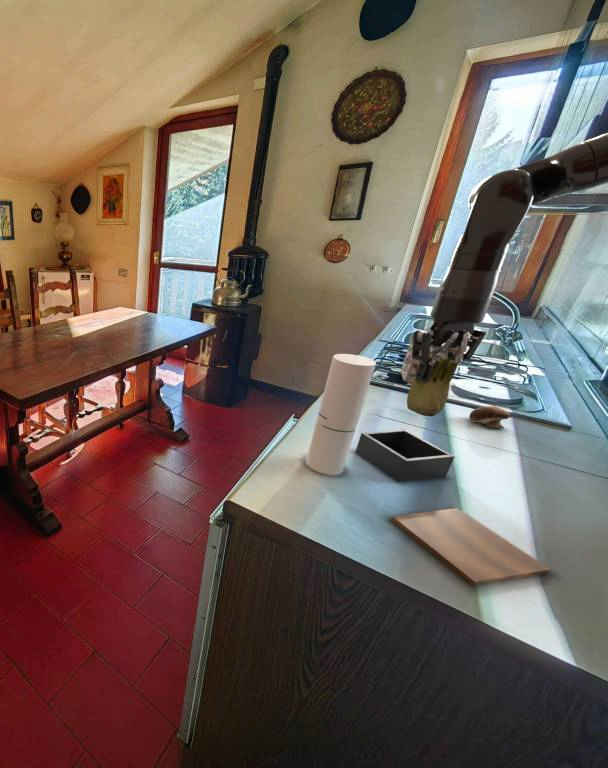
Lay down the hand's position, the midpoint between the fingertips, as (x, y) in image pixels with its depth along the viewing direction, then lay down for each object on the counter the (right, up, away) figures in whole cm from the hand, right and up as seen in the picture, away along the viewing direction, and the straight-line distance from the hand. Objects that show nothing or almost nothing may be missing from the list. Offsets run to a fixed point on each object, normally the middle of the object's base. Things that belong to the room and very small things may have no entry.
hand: (433, 380), depth 78 cm
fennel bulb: (0, -7, +3) cm, 8 cm away
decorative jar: (+46, 0, +57) cm, 74 cm away
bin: (0, -19, +9) cm, 21 cm away
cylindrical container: (-17, -19, +8) cm, 27 cm away
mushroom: (+38, -12, +27) cm, 48 cm away
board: (-6, -28, -13) cm, 31 cm away
